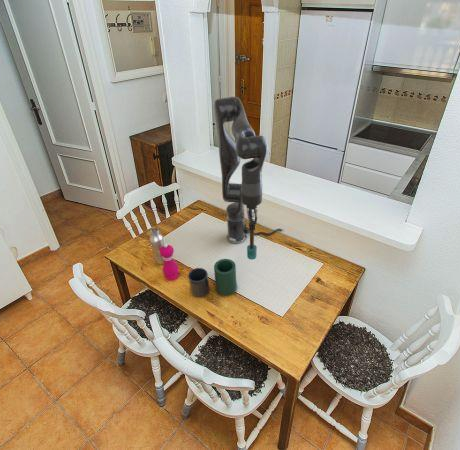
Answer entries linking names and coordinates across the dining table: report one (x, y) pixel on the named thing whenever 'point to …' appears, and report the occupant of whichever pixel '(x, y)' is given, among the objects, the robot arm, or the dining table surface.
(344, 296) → the dining table surface
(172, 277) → the pepper mill
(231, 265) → the green jar
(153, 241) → the silver metal bottle
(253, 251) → the bottle brush
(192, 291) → the pot
